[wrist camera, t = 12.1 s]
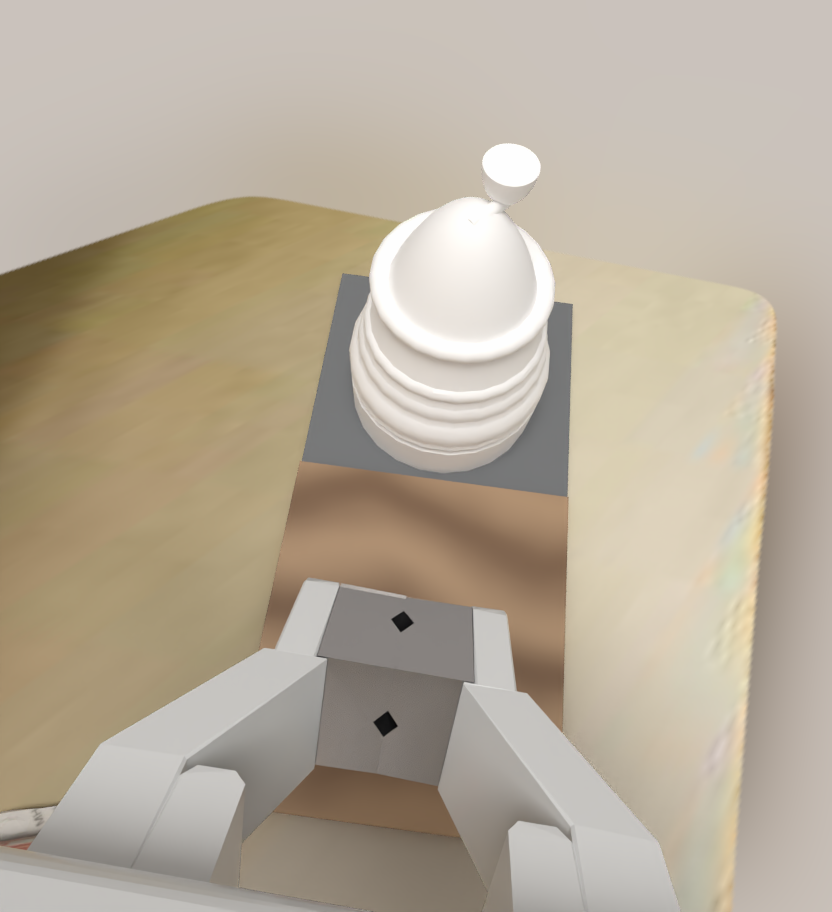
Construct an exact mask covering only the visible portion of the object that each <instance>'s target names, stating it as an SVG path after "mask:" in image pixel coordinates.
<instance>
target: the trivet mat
mask: <svg viewBox="0 0 832 912" xmlns="http://www.w3.org/2000/svg"><path fill="white" fill-rule="evenodd" d="M369 293H370V284H369V277H366V276H358V275H351V274H342V279H341V283H340V288H339V292H338V297H337V302H336V306H335V311H334V315H333V320H332V325H331V329H330V334H329V338H328V343H327V348H326V352H325V357H324V361H323V366H322V371H321V375H320V380H319V384H318V389H317V394H316V398H315V403H314V408H313V412H312V417H311V421H310V426H309V431H308V435H307V440H306V444H305V449H304V454H303V458H302V461H304V462H312V463H319V464H327V465H334V466H341V467H349V468H356V469H364V470H371V471H378V472H386V473H393V474H401V475H408V476H415V477H423V478H430V479H438V480H445V481H452V482H460V483H467V484H475V485H482V486H490V487H497V488H504V489H512V490H519V491H527V492H534V493H541V494H549V495H556V496H564V497H567V491H568V454H569V417H570V380H571V343H572V306H573V304H567V303H560V302H554V306H553V308H552V311H551V313H550V316H549V318H548V320H547V321H548V324H547V336H548V337H547V341H548V345H549V349H550V359H549V374H548V380H547V383H546V385H545V388H544V390H543V393H542V395H541V398H540V400H539V402H538V403H537V406H536V408H535V409H534V412H533V414H532V416H531V418H530V419H529V421H528V423H527V425H526V427H525V429H524V431H523V433H522V434H521V435H520V437H519V438H518V439H517V440H516V442H515V443H514V444H513V445H512V447H511V448H510V449H509V450H508V451H506V452H505V453H504V454H502V455H501V456H499V457H498V458H497V459H495V460H494V461H492V462H491V463H489V464H486V465H483V466H480V467H478V468H475V469H472V470H469V471H463V472H452V473H438V472H432V471H425V470H419V469H416V468H414V467H412V466H409V465H407V464H405V463H402V462H400V461H397V460H396V459H394V458H393V457H392V456H390V455H389V454H388V453H386V452H385V451H384V450H382V449H381V448H380V447H378V446H377V445H376V443H375V442H374V441H373V440H372V438H371V437H370V436H369V434H368V433H367V432H366V430H365V429H364V428H363V426H362V423H361V421H360V418H359V416H358V413H357V411H356V408H355V402H354V393H353V383H352V373H351V364H350V352H349V348H350V343H351V339H352V334H353V330H354V326H355V322H356V320H357V318H358V317H359V315H360V313H361V311H362V310H363V308H364V306H365V304H366V303H367V298H368V295H369Z"/></svg>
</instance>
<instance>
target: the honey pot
mask: <svg viewBox="0 0 832 912" xmlns="http://www.w3.org/2000/svg"><path fill="white" fill-rule="evenodd" d="M539 173H540V162H539V160H538V158H537V157H536V155H535V154H534V153H533V152H532V151H530V150H529V149H527V148H525V147H523V146H520V145H516V144H500V145H497V146H494V147H492V148H491V149H489V150H488V151H487V152H486V154H485V155H484V157H483V161H482V180H483V184H484V188H485V190H486V192H487V194H488V195H489V197H490V198H491V199H492V200H493V201H492V202H491V201H489V200H486V199H483V198H477V197H464V198H460V199H457V200H454V201H451V202H449V203H448V204H445V205H443V206H442V207H440V208H438V209H436V210H432V211H428V212H424V213H420V214H418V215H416V216H414V217H412V218H410V219H408V220H406V221H405V222H403V223H401V224H399V225H398V226H397V227H396V228H395V229H394V230H393V231H392V232H391V233H390V234H389V235H387V236H386V237H385V238H384V239H383V241H382V243H381V244H380V246H379V248H378V250H377V251H376V253H375V255H374V257H373V261H372V266H371V270H370V275H369V284H370V293H369V295H368V298H367V303H366V304H365V306H364V308H363V310H362V311H361V313H360V315H359V317H358V318H357V320H356V322H355V326H354V330H353V334H352V339H351V343H350V348H349V352H350V364H351V373H352V383H353V393H354V402H355V408H356V411H357V413H358V416H359V418H360V421H361V423H362V426H363V428H364V429H365V430H366V432H367V433H368V434H369V436H370V437H371V438H372V440H373V441H374V442H375V443H376V445H377V446H378V447H380V448H381V449H382V450H384V451H385V452H386V453H388V454H389V455H390V456H392V457H393V458H394V459H396V460H397V461H400V462H402V463H405V464H407V465H409V466H412V467H414V468H416V469H419V470H425V471H432V472H438V473H452V472H463V471H469V470H472V469H475V468H478V467H480V466H483V465H486V464H489V463H491V462H492V461H494V460H495V459H497V458H498V457H499V456H501V455H502V454H504V453H505V452H506V451H508V450H509V449H510V448H511V447H512V445H513V444H514V443H515V442H516V440H517V439H518V438H519V437H520V435H521V434H522V433H523V431H524V429H525V427H526V425H527V423H528V421H529V419H530V418H531V416H532V414H533V412H534V409H535V408H536V406H537V403H538V402H539V400H540V398H541V395H542V393H543V390H544V388H545V385H546V383H547V380H548V374H549V359H550V349H549V345H548V341H547V337H548V336H547V324H548V321H547V320H548V318H549V316H550V313H551V311H552V308H553V306H554V295H555V280H554V276H553V272H552V268H551V264H550V262H549V261H548V259H547V257H546V256H545V254H544V252H543V250H542V249H541V247H540V245H539V244H538V243H537V242H536V241H535V240H534V239H533V238H532V237H531V236H530V235H529V234H528V233H527V232H526V231H525V230H524V229H522V228H520V227H519V226H517V225H516V224H515V223H514V222H513V220H512V219H511V218H510V217H509V215H508V214H507V213H506V212H505V211H504V210H506V209H507V208H509V207H510V206H511V205H513V204H515V203H518V202H519V201H521V200H522V199H523V198H524V197H526V196H527V195H528V193H529V192H530V191H531V190H532V188H533V187H534V185H535V183H536V181H537V178H538V176H539Z"/></svg>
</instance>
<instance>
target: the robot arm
mask: <svg viewBox="0 0 832 912" xmlns="http://www.w3.org/2000/svg"><path fill="white" fill-rule="evenodd" d="M315 765H321V766H328V767H335V768H342V769H349V770H355V771H362V772H369V773H376V774H381V775H386V776H391V777H396V778H401V779H405V780H410V781H415V782H420V783H425V784H430V785H435V786H438V791H439V793H440V795H441V797H442V799H443V801H444V803H445V805H446V808H447V810H448V812H449V814H450V816H451V818H452V820H453V822H454V824H455V826H456V828H457V830H458V832H459V834H460V836H461V838H462V841H463V843H464V845H465V847H466V849H467V851H468V853H469V855H470V857H471V859H472V861H473V863H474V865H475V867H476V869H477V871H478V874H479V876H480V878H481V880H482V882H483V884H484V886H485V888H486V890H487V892H488V894H487V897H486V900H485V903H484V906H483V909H482V912H681V910H680V907H679V904H678V901H677V898H676V894H675V891H674V888H673V885H672V882H671V879H670V876H669V873H668V869H667V866H666V863H665V860H664V857H663V854H662V851H661V847H660V844H659V842H658V841H657V840H656V839H655V838H654V836H653V835H652V834H651V833H650V832H649V831H648V830H647V829H646V827H645V826H644V825H643V824H642V823H641V822H640V821H639V819H638V818H637V817H636V816H635V815H634V814H633V813H632V812H631V810H630V809H629V808H628V807H627V806H626V805H625V804H624V802H623V801H622V800H621V799H620V798H619V797H618V796H617V795H616V793H615V792H614V791H613V790H612V789H611V788H610V787H609V785H608V784H607V783H606V782H605V781H604V780H603V779H602V778H601V776H600V775H599V774H598V773H597V772H596V771H595V770H594V768H593V767H592V766H591V765H590V764H589V763H588V762H587V761H586V759H585V758H584V757H583V756H582V755H581V754H580V753H579V751H578V750H577V749H576V748H575V747H574V746H573V745H572V744H571V742H570V741H569V740H568V739H567V738H566V737H565V736H564V734H563V733H562V732H561V731H560V730H559V729H558V728H557V727H556V725H555V724H554V723H553V722H552V721H551V720H550V719H549V717H548V716H547V715H546V714H545V713H544V712H543V711H542V710H541V708H540V707H539V706H538V705H537V704H536V703H535V702H534V700H533V699H532V698H531V697H530V696H529V695H528V694H527V693H523V692H517V689H516V681H515V673H514V665H513V657H512V649H511V641H510V633H509V625H508V617H507V614H506V613H505V611H503V610H496V609H489V608H482V607H475V606H471V607H468V606H462V605H456V604H449V603H443V602H437V601H431V600H425V599H419V598H413V597H406V596H405V595H400V594H395V593H390V592H384V591H379V590H374V589H369V588H364V587H359V586H354V585H348V584H343V583H342V584H340V583H338V582H332V581H326V580H321V579H315V578H307V579H306V580H305V581H304V582H303V585H302V587H301V589H300V592H299V594H298V596H297V598H296V601H295V603H294V605H293V608H292V610H291V612H290V615H289V617H288V619H287V621H286V624H285V626H284V628H283V631H282V633H281V635H280V638H279V640H278V642H277V644H276V647H275V649H269V648H263V649H261V650H259V651H258V652H256V653H254V654H253V655H251V656H249V657H247V658H246V659H244V660H242V661H241V662H239V663H237V664H235V665H234V666H232V667H230V668H229V669H227V670H225V671H224V672H222V673H220V674H218V675H217V676H215V677H213V678H212V679H210V680H208V681H207V682H205V683H203V684H201V685H200V686H198V687H196V688H195V689H193V690H191V691H189V692H188V693H186V694H184V695H183V696H181V697H179V698H178V699H176V700H174V701H172V702H171V703H169V704H167V705H166V706H164V707H162V708H161V709H159V710H157V711H155V712H154V713H152V714H150V715H149V716H147V717H145V718H143V719H142V720H140V721H138V722H137V723H135V724H133V725H132V726H130V727H128V728H126V729H125V730H123V731H121V732H120V733H118V734H116V735H114V736H113V737H111V738H109V739H108V740H106V741H104V742H103V743H101V744H100V745H99V747H98V748H97V750H96V751H95V752H94V754H93V755H92V757H91V758H90V760H89V761H88V763H87V764H86V765H85V767H84V768H83V770H82V771H81V773H80V774H79V776H78V777H77V778H76V780H75V781H74V783H73V784H72V786H71V787H70V789H69V790H68V791H67V793H66V794H65V796H64V797H63V799H62V800H61V802H60V803H59V804H58V806H57V807H56V809H55V810H54V812H53V813H52V814H51V816H50V817H49V819H48V820H47V822H46V823H45V825H44V826H43V827H42V829H41V830H40V832H39V833H38V835H37V836H36V838H35V839H34V840H33V842H32V843H31V845H30V846H29V848H28V849H27V850H22V849H16V848H11V847H5V846H0V912H373V911H367V910H362V909H356V908H350V907H345V906H339V905H334V904H328V903H322V902H317V901H311V900H305V899H300V898H294V897H288V896H283V895H277V894H271V893H266V892H260V891H254V890H249V889H243V888H239V878H240V862H241V845H242V842H243V841H244V840H245V839H246V838H247V837H248V836H249V835H250V834H251V833H252V832H253V831H254V830H255V829H256V828H257V827H258V826H259V825H260V824H261V823H262V822H263V821H264V820H265V819H266V818H267V817H268V816H269V815H270V814H271V813H272V812H273V811H274V809H275V808H276V807H277V806H278V805H279V804H280V803H281V802H282V801H283V800H284V799H285V798H286V797H287V796H288V795H289V794H290V793H291V792H292V791H293V790H294V789H295V788H296V787H297V786H298V785H299V784H300V783H301V782H302V781H303V780H304V779H305V778H306V776H307V775H308V774H309V773H310V772H311V771H312V770H313V769H314V766H315Z"/></svg>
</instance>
